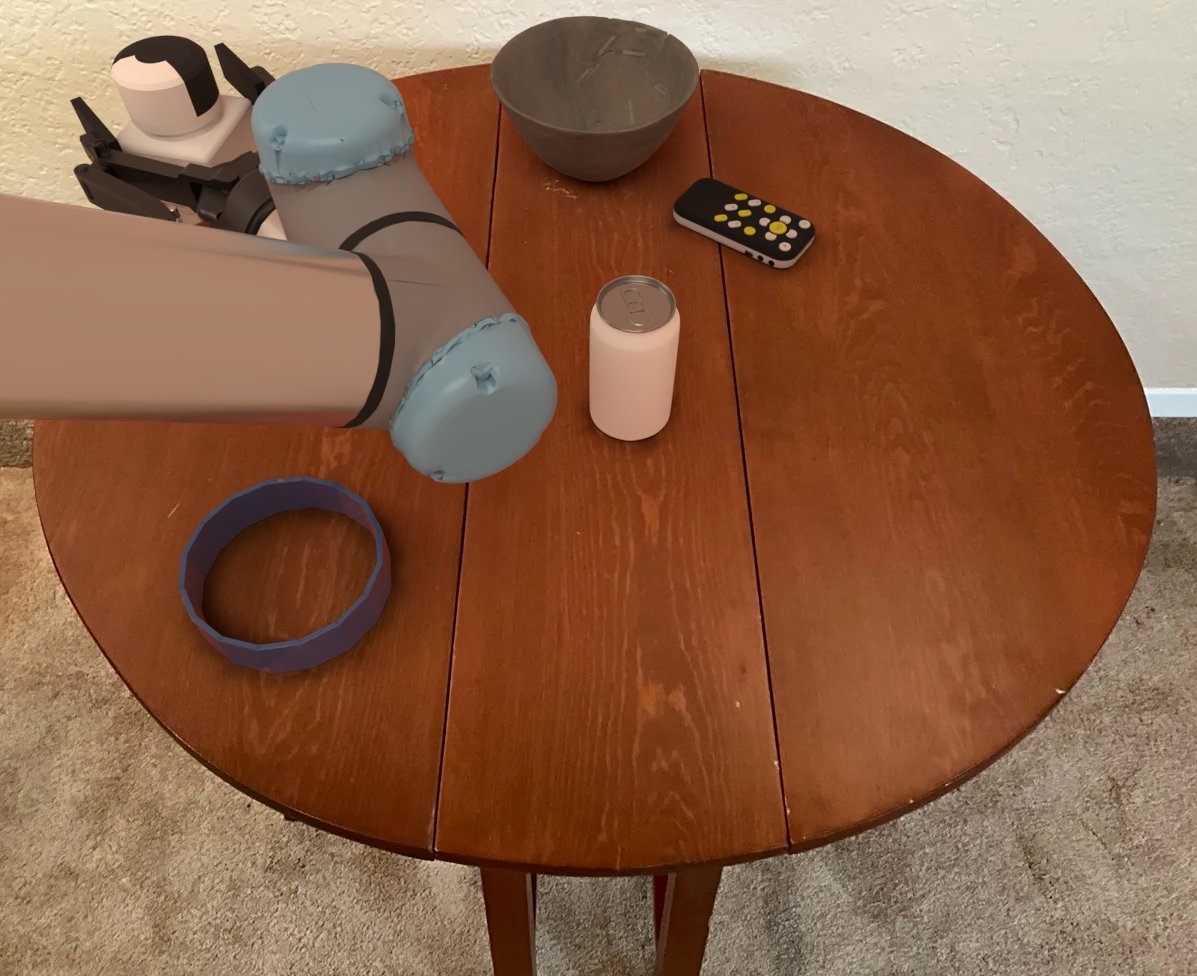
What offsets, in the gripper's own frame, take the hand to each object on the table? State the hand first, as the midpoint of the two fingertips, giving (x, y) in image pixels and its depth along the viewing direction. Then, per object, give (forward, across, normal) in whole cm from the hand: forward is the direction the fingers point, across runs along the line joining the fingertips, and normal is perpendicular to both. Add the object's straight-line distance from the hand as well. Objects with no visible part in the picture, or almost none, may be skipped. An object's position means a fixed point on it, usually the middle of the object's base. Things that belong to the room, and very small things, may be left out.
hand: (155, 86), depth 73 cm
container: (-4, 0, -9) cm, 10 cm away
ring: (-33, -12, -17) cm, 39 cm away
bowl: (-10, +35, -18) cm, 40 cm away
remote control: (-26, +39, -18) cm, 50 cm away
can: (-36, +17, -18) cm, 44 cm away
